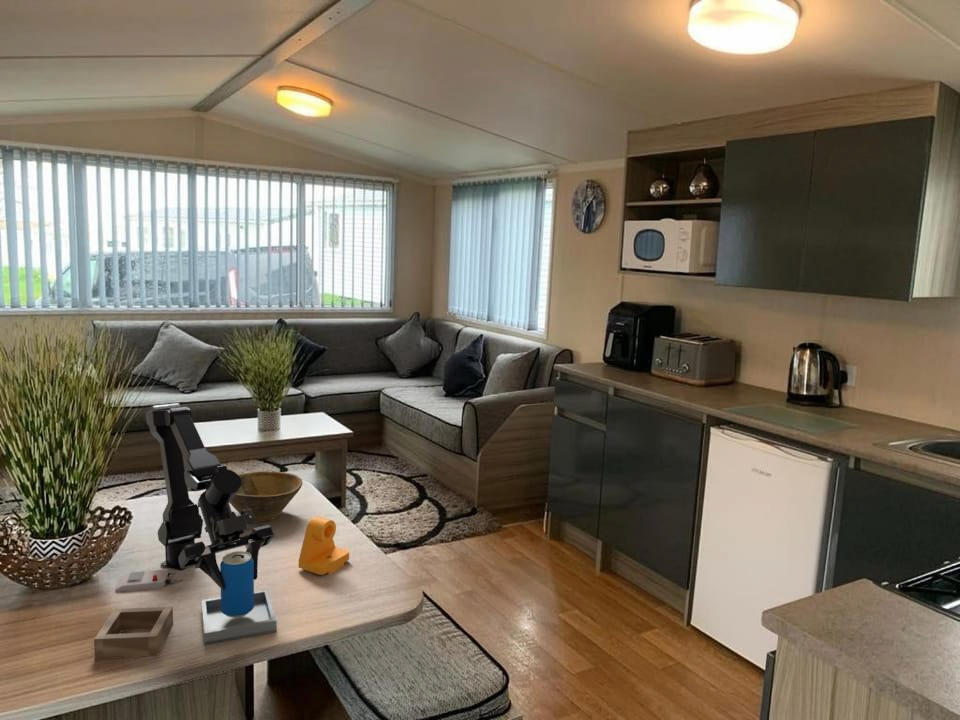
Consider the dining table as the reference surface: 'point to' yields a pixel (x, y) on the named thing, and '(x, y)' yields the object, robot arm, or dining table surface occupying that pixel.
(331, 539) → the bracket
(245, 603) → the beverage can
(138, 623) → the socket block
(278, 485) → the bowl
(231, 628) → the tray
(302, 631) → the dining table surface
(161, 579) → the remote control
